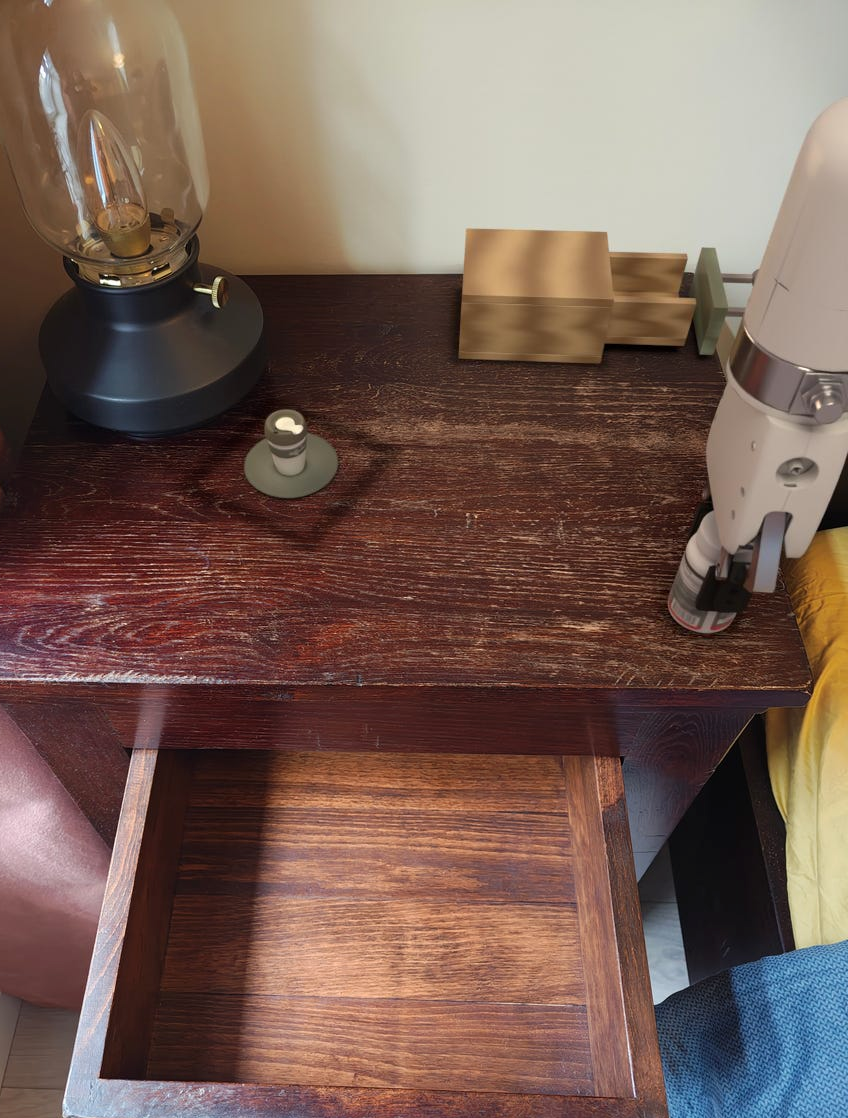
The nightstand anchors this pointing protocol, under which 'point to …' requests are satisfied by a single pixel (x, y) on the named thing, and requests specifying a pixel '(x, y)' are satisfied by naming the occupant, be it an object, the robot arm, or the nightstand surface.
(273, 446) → the coffee cup
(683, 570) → the pill bottle
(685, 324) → the drawer
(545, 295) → the cabinet
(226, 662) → the nightstand surface
